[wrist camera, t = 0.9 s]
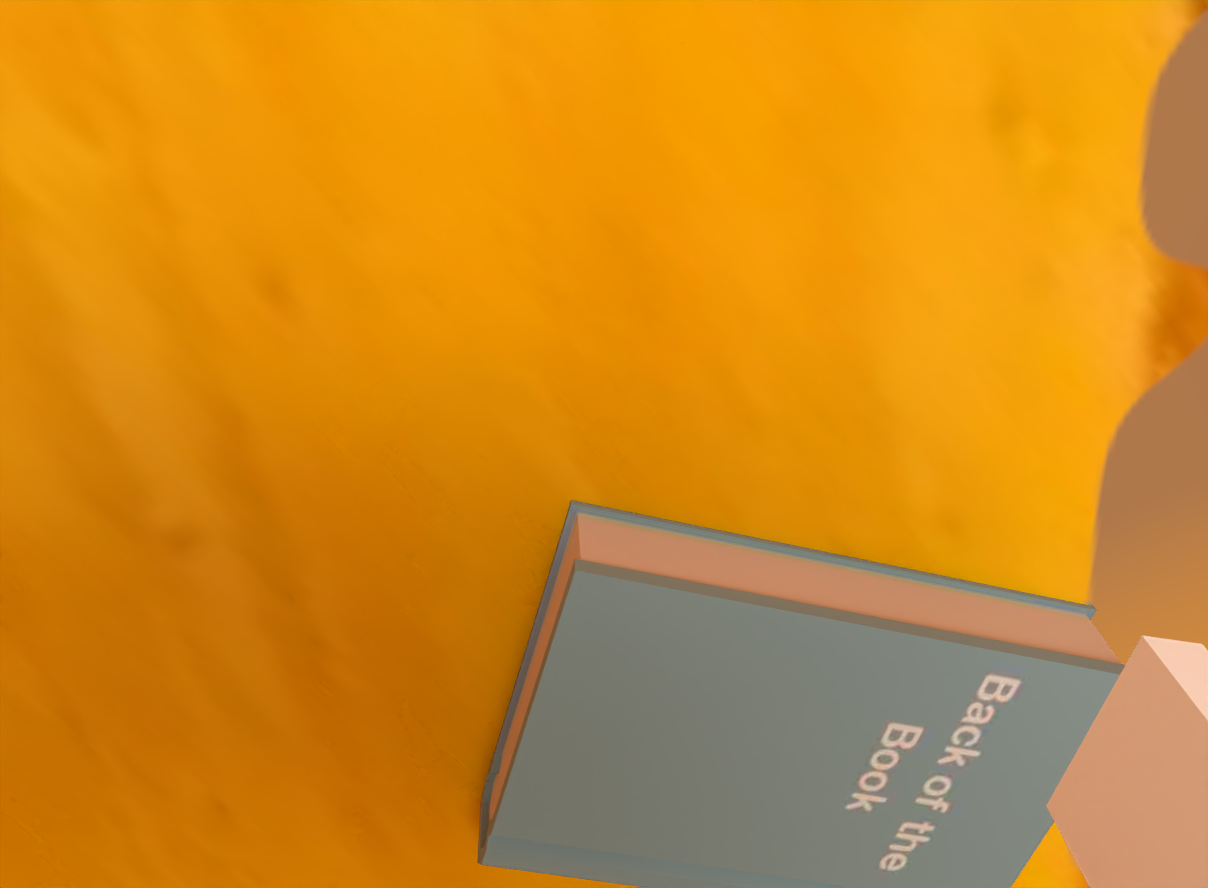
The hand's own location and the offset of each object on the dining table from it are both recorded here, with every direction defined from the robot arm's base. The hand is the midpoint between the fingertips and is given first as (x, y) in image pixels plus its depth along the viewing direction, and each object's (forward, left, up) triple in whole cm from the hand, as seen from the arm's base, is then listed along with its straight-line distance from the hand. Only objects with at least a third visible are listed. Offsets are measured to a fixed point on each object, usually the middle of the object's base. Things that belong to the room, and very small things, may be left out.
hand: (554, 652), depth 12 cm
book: (+26, -5, -26) cm, 37 cm away
